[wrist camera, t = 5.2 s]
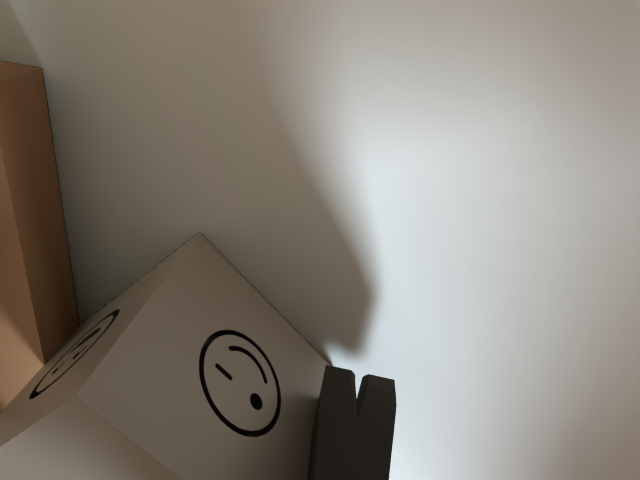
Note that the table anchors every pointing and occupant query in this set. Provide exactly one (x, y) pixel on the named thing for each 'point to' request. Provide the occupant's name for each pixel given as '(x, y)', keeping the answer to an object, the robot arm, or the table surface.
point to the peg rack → (30, 235)
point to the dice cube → (171, 386)
